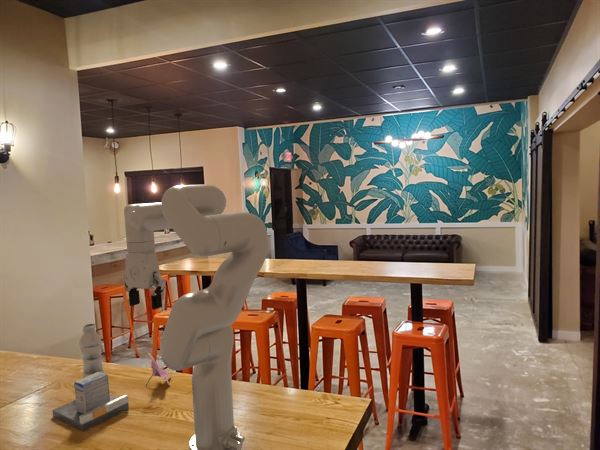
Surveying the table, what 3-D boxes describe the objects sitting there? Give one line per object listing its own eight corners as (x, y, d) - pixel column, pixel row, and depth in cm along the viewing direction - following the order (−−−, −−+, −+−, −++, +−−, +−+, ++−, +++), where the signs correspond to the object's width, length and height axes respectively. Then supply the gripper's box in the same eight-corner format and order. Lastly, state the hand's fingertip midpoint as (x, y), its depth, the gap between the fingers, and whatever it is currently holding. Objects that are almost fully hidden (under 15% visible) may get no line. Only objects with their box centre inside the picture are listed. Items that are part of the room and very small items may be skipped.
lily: (159, 399, 142) (172, 369, 144) (125, 382, 144) (139, 353, 145) (172, 393, 154) (184, 365, 155) (141, 378, 155) (154, 350, 157)
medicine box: (100, 399, 136) (98, 371, 135) (110, 402, 134) (108, 373, 133) (76, 411, 129) (73, 381, 129) (86, 415, 127) (83, 385, 126)
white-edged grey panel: (129, 409, 134) (128, 395, 134) (83, 432, 122) (82, 417, 122) (98, 396, 143) (97, 383, 142) (53, 416, 131) (51, 403, 131)
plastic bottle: (97, 390, 147) (92, 329, 145) (78, 389, 148) (73, 328, 146) (109, 381, 153) (104, 322, 151) (91, 380, 154) (86, 321, 152)
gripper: (110, 248, 133) (115, 306, 135) (150, 250, 124) (155, 313, 125) (132, 244, 139) (137, 300, 141) (172, 246, 130) (176, 306, 131)
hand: (145, 306), depth 133 cm, fingers open, 9 cm apart
